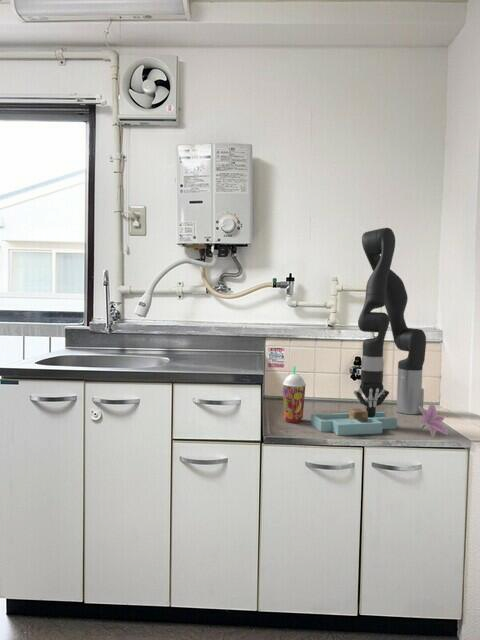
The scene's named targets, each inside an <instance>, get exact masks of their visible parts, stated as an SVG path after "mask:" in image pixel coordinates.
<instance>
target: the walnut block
mask: <svg viewBox="0 0 480 640" xmlns="http://www.w3.org/2000/svg"><path fill="white" fill-rule="evenodd" d="M348 413H349V419H350V420H352V419H356V420H358V421H359V422H368V412H367V411H366V409H363V408H348Z"/></svg>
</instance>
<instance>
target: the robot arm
mask: <svg viewBox="0 0 480 640" xmlns="http://www.w3.org/2000/svg"><path fill="white" fill-rule="evenodd" d="M361 244H362V249H363V251H364V254H365V256H366V258H367V261H368V263H369V265H370V268H371V270H372V273H371V275H370V276H369V278H368V280H367V282H366V287H365V299H364V304H363V308H362V310H361V312H360V314H359V316H358V320H357V325H358V328H359V330H360V331H361V332H363V333H364V332H365V333H377V336H375V337H370V338H366V339H364V340H363V341H362V358H361V369H360V370H361V371H360V372H361V373H360V382H361V383H360V385H359V388H358V389H357V390H354V392H353V394H354V396H355V397H356V398H357V399H358V401H359V403H361V405H363V406H365V407H366V409H365V410H366V411H367V412H368V417H370V418H374V416H375V413H376V412H377V411H376V410H377V409H376V407H378V406H381V404H382V403H383V402H384V401H385V400H386V398H387V397H388V396H389V394H390V391H388V390H386V388H384V384H383V381H384V379H383V378H384V367H385V366H384V342H385V340H386V335H387V333H388V332H387V331H388V329H389V326H390V328H391V333H392V337H393V342H394V345H395V346H396V348H397V349H398V350H399V351H404V352H408V355H407V357H406V358H404V359H401V360H399V361H398V362H397V384H396V385H397V387H396V406H395V407H396V413H397V412H398V413H400V414H405V415H419V414H422V412H421V411H420V409H419V407H418V406H420V407H422V408H424V396H425V389H424V388H422V387H423V369H424V368H423V366H424V364H425V358H426V351H427V350H426V349H427V348H426V347H427V336H426V332H425V331H424V330H422V329H420V328H411V327H408V326H407V324H406V320H405V315H404V314H405V312H406V311H405V310H406V307H407V304H408V300H409V299H408V294H407V290H406V286H405V284H404V282H403V280H402V278H401V277H400V276H399V275H397V273H396V272H394V271H393V270H392V269H391V265H392V262H393V257H394V253H395V248H396V236H395V233H394V231H393V229H391V228H389V227H383V228H378V229H374V230H369V231H365V232H363V234H362V236H361ZM383 307H384V308H385V309H386V312H379V311H378V312H377V311H375V312H374V310H375V309H380V308H383ZM363 395H364V396H363Z"/></svg>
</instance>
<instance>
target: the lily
mask: <svg viewBox="0 0 480 640" xmlns="http://www.w3.org/2000/svg"><path fill="white" fill-rule="evenodd" d="M429 403H430V404H429V406H428V408H427V409H425V407H423V408H422V407H420V406H418V407H419V409H420V411H421V412H422V413H421V414H422V416H421V418H419V420H418V423H419V424H421V425H422V427H421V428H420V431H422V430H423V428H425V426H426V427H428V429H429V432H430V435H431V437H432V438H434V436H435V435H436V432H437V431H439V432H440V433H442V434H444V435H446V436H448V435H449V433H448V431H447V428H446V427H445V425H444V424H443V421H444V420H445V417H444V416H443V415H440V414H438V411H437V409H436V406H435V403H434V402H433V401H431V402H429Z"/></svg>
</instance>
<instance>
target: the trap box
mask: <svg viewBox="0 0 480 640" xmlns="http://www.w3.org/2000/svg"><path fill="white" fill-rule="evenodd" d="M385 415H386V412H385V411H376V413H375V416H374V418H370V417H368V422H359V421H358V420H356V419H352V420H350V419H349V412H342V413H341V412H337V413H336V412H335V413H313V414H310V425H312V427H314V428H315V429H317V430H318V431H319V432H321V433H323V432H333V433H334V434H336V435H337V436H351V435H352V436H353V435H354V436H355V435H373V434H374V435H376V434H378V435H379V434H383V430H391V429H392V430H393V429H397V428H398V418H397V417H386V416H385Z"/></svg>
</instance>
